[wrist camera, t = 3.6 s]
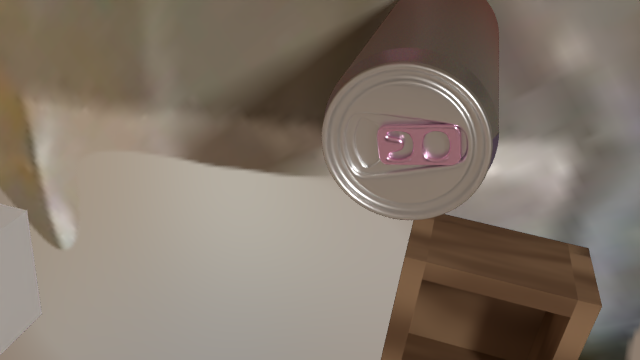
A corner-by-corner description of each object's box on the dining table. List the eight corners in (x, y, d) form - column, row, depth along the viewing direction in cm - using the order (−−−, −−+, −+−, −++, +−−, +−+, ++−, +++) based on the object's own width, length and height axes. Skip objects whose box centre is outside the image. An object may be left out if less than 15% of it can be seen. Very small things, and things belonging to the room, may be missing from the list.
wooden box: (416, 207, 37) (404, 256, 33) (588, 248, 36) (602, 306, 31) (387, 330, 43) (374, 388, 38) (537, 371, 41) (541, 437, 36)
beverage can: (498, 87, 33) (497, 229, 20) (390, 90, 34) (325, 223, 22) (499, -27, 30) (500, 52, 17) (382, -17, 32) (304, 61, 19)
